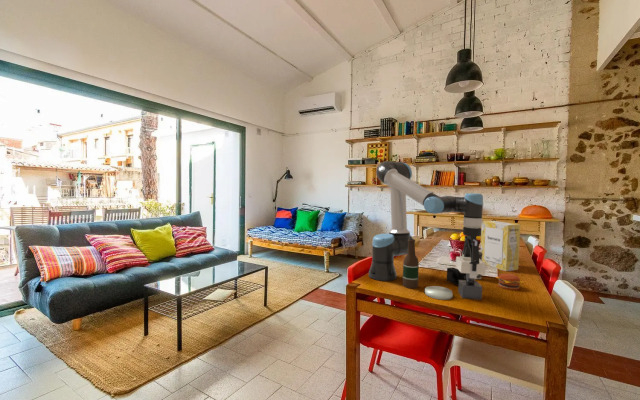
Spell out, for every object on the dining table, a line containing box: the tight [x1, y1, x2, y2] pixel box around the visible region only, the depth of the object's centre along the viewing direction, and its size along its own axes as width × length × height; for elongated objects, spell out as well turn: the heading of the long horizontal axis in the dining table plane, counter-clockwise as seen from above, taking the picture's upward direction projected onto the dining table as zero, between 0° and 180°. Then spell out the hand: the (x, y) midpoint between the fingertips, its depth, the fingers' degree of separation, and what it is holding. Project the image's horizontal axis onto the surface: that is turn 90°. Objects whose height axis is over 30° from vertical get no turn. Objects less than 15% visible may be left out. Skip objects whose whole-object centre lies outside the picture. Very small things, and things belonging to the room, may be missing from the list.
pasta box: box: [480, 220, 521, 272], centre depth 187 cm, size 18×10×28 cm, turn 20°
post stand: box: [457, 273, 483, 301], centre depth 137 cm, size 8×8×13 cm
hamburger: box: [495, 273, 524, 291], centre depth 150 cm, size 9×10×7 cm
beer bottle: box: [402, 238, 420, 289], centre depth 149 cm, size 8×8×24 cm
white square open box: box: [455, 256, 487, 276], centre depth 137 cm, size 10×10×5 cm
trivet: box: [424, 285, 454, 301], centre depth 138 cm, size 12×12×2 cm
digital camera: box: [446, 267, 466, 287], centre depth 155 cm, size 10×5×7 cm, turn 16°
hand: (469, 274), depth 137 cm, fingers closed on white square open box, 10 cm apart
